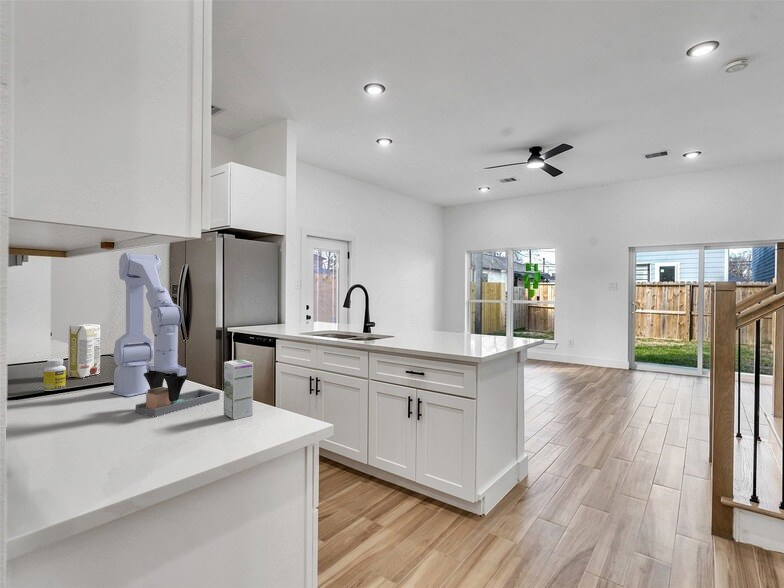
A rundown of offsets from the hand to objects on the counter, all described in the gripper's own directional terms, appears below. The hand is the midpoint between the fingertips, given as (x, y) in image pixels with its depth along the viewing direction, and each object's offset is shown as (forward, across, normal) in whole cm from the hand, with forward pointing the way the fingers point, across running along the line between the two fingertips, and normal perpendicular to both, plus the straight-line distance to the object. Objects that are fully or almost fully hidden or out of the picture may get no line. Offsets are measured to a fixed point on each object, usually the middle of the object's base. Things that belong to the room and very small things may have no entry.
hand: (165, 398), depth 112 cm
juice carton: (+3, -61, +10) cm, 62 cm away
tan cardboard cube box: (+3, 0, -2) cm, 3 cm away
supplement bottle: (+3, -47, -6) cm, 47 cm away
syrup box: (+3, +21, +6) cm, 22 cm away
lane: (+3, 0, +4) cm, 5 cm away
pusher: (+3, 0, +3) cm, 4 cm away
